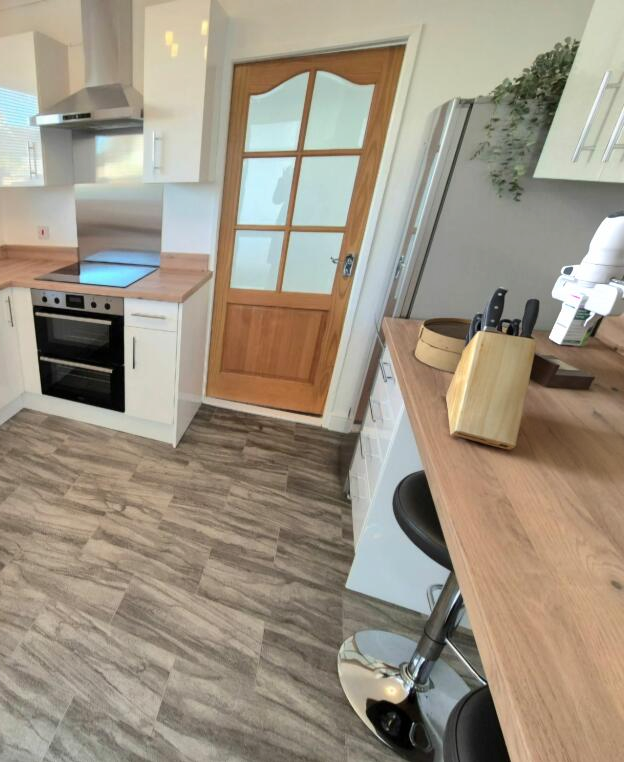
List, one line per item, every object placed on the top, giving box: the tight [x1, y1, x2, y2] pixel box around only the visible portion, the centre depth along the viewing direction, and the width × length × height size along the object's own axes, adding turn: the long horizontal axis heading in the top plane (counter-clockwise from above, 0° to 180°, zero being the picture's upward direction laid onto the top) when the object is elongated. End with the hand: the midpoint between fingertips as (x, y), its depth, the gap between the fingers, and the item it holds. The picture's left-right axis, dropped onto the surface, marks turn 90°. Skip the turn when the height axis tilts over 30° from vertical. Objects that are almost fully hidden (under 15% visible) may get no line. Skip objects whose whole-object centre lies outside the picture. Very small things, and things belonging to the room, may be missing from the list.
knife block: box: [445, 286, 541, 450], centre depth 103 cm, size 11×35×31 cm, turn 147°
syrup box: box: [548, 292, 597, 347], centre depth 123 cm, size 6×6×14 cm
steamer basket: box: [414, 317, 520, 374], centre depth 139 cm, size 25×25×11 cm
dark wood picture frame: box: [529, 351, 596, 390], centre depth 129 cm, size 11×16×7 cm
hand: (575, 322), depth 123 cm, fingers closed on syrup box, 6 cm apart
